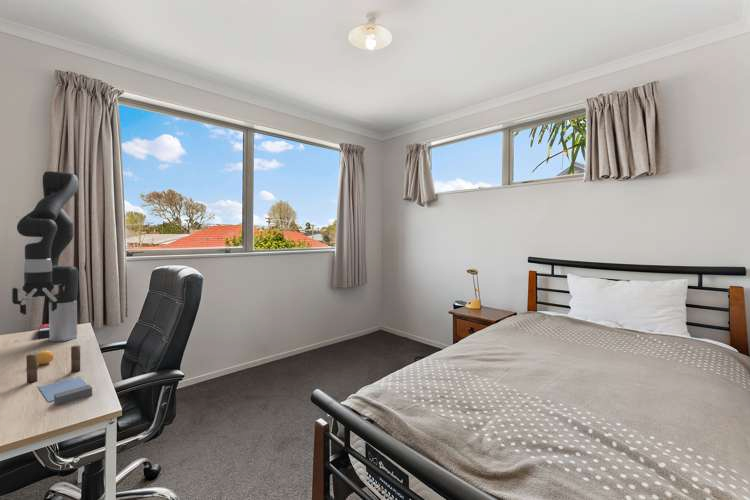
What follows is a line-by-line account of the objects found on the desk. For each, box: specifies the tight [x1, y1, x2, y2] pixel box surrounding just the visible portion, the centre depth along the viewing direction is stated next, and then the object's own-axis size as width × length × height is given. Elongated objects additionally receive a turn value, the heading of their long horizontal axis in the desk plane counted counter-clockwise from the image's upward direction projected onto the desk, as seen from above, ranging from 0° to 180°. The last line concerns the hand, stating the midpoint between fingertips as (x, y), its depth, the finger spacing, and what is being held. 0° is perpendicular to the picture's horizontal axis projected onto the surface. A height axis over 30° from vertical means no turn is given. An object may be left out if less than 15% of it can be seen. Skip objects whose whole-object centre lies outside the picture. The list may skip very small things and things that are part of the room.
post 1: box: [25, 353, 38, 384], centre depth 107 cm, size 2×2×9 cm
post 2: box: [70, 344, 81, 373], centre depth 116 cm, size 2×2×9 cm
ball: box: [36, 349, 55, 365], centre depth 121 cm, size 5×5×5 cm
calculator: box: [37, 323, 49, 340], centre depth 156 cm, size 11×4×15 cm
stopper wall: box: [53, 384, 93, 407], centre depth 98 cm, size 3×8×2 cm, turn 145°
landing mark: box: [38, 376, 88, 403], centre depth 104 cm, size 14×10×1 cm
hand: (38, 312), depth 126 cm, fingers open, 7 cm apart
